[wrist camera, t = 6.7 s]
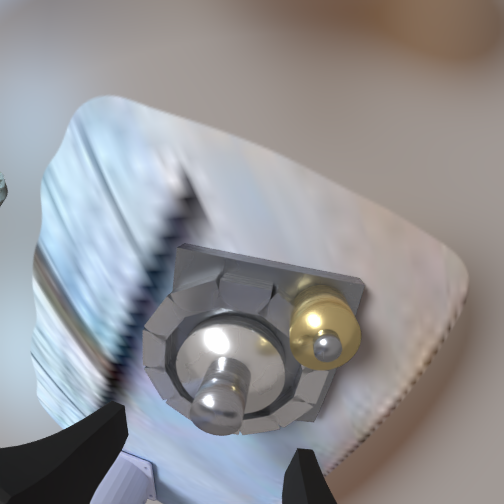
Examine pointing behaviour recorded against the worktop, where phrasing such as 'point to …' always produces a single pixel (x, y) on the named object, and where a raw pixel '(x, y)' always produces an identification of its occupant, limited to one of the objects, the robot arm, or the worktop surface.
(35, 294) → the worktop surface
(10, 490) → the robot arm
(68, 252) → the worktop surface
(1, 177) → the pipe fitting
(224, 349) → the silver stemmed round piece
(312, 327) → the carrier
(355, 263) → the worktop surface
